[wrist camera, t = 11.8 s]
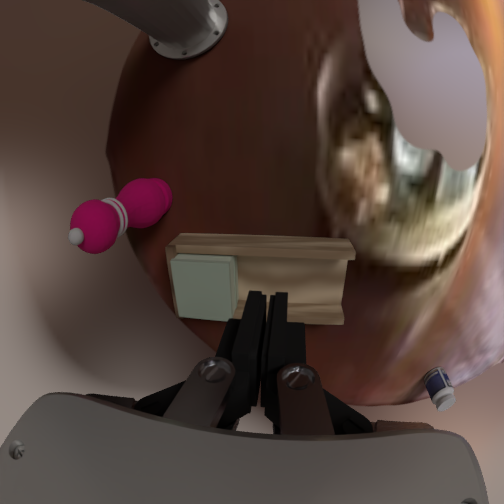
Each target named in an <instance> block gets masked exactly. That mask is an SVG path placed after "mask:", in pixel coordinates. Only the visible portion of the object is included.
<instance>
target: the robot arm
mask: <svg viewBox="0 0 504 504" xmlns="http://www.w3.org/2000/svg"><path fill="white" fill-rule="evenodd" d="M83 1H86V2H89V3H91V4H94V5H96V6H98V7H100V8H102V9H104V10H106V11H108V12H110V13H112V14H114V15H116V16H118V17H119V18H121V19H123V20H125V21H127V22H128V23H130V24H132V25H133V26H135V27H136V28H138V29H140V30H141V31H143V32H145V33H146V34H148V35H149V40H150V43H151V45H152V47H153V49H154V50H155V51H156V52H157V53H159V54H160V55H162V56H164V57H166V58H170V59H178V60H182V59H189V58H192V57H196V56H198V55H200V54H203V53H204V52H206V51H208V50H209V49H211V48H212V47H213V46H214V45H215V44H217V42H218V41H219V40H220V39H221V38H222V36H223V35H224V33H225V31H226V28H227V25H228V14H227V12H226V9H225V7H224V6H223V4H222V3H221V2H220V1H219V0H83ZM217 34H218V35H217ZM186 53H187V54H186ZM185 54H186V55H185ZM266 308H267V295H265V294H262V291H252V290H249V293H248V296H247V300H246V303H245V307H244V311H243V314H242V318H241V319H234V318H229V319H228V321H227V324H226V327H225V330H224V333H223V336H222V339H221V341H220V344H219V347H218V350H217V353H216V356H215V357H209V358H206V359H204V360H202V361H200V362H199V363H198V364H197V365H196V366H195V368H194V369H193V371H192V372H191V374H190V375H189V377H188V378H187V380H185V381H183V382H181V383H178V384H176V385H174V386H171V387H169V388H166V389H164V390H162V391H159V392H156V393H154V394H151V395H149V396H146V397H144V398H142V399H140V400H139V401H135V399H134V398H127V397H117V396H108V395H100V394H86V395H82V394H75V393H67V392H55V393H48V394H46V395H43V396H42V397H40V398H39V399H37V400H36V401H35V402H34V403H33V404H32V405H31V406H30V407H29V408H28V410H27V411H26V412H25V413H24V414H23V415H22V417H21V418H20V420H19V421H18V422H17V423H16V425H15V426H14V428H13V429H12V430H11V432H10V433H9V435H8V436H7V438H6V439H5V441H4V443H3V444H2V446H1V448H0V504H489V502H488V496H487V491H486V486H485V483H484V479H483V475H482V472H481V469H480V466H479V463H478V460H477V458H476V456H475V454H474V452H473V450H472V448H471V446H470V444H469V443H468V442H467V441H466V440H465V439H464V438H463V437H462V436H460V435H458V434H456V433H453V432H450V431H444V430H438V429H434V428H433V427H432V426H431V425H429V424H427V423H422V422H397V421H384V420H377V422H370V421H369V420H368V419H367V418H365V417H364V416H363V415H361V414H360V413H358V412H357V411H355V410H354V409H352V408H351V407H349V406H348V405H346V404H345V403H343V402H342V401H340V400H339V399H338V398H336V397H335V396H333V395H332V394H330V393H329V392H327V391H326V390H325V389H323V388H322V384H321V380H320V377H319V374H318V372H317V371H316V370H315V369H314V368H313V367H311V366H309V365H307V364H306V345H305V324H304V322H287V309H288V292H276V293H275V295H270V301H269V308H268V315H267V322H266ZM260 381H261V407H265V416H266V417H267V418H268V419H269V420H270V421H272V422H273V434H261V433H250V432H242V431H236V429H237V426H238V424H239V418H241V417H243V416H244V415H246V414H247V413H250V412H251V406H257V400H258V394H259V388H260Z"/></svg>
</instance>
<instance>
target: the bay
mask: <svg viewBox="0 0 504 504" xmlns="http://www.w3.org/2000/svg"><path fill="white" fill-rule="evenodd" d="M165 249H166V257H167V264H168V271H169V277H170V284H171V290H172V296H173V302H174V307H175V313H176V318H182V319H184V317H179V313H178V308H177V302H176V296H175V290H174V283H173V277H172V270H171V263H170V261H171V259H174V258H175V257H176V256H177V255H178V254H179V253H193V254H216V255H237V267H238V294H239V300H238V303H237V308H236V309H235V312H234V315H233V318H234V319H241V318H242V314H243V311H244V307H245V303H246V300H247V296H248V293H249V290H252V291H262V294H265V295H267V308H266V322H267V315H268V308H269V301H270V295H275V293H276V292H288V309H287V322H304V324H336V325H343V323H344V315H343V311H342V307H341V300H342V294H343V287H344V281H345V274H346V267H347V260H355V253H356V252H355V250H354V248H353V246H352V245H351V243H350V241H349V239H341V238H319V237H294V236H267V235H235V234H195V233H181V234H180V235H178V236H177V237H176V238H175V239H174V240H173V241H172V242H170V243H169V244H168V245H167V246H166V247H165Z"/></svg>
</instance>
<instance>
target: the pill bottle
mask: <svg viewBox="0 0 504 504" xmlns="http://www.w3.org/2000/svg"><path fill="white" fill-rule="evenodd" d="M424 383H425V385H426V388H427V390H428V393H429V395H430V398H431V400H432V402H433V404H435V405H436V408H437V410H438V411H444V410H446V409H448V408H450V407H451V406H452V405H453V404H454V403H455V400H456V399H455V396H454V395H453V392H454V389H453V387H452V384H451V382H450V380H449V378H448V376H447V374H446V372H445V370H444V369H443V368H442V367H437V368H434V369H432V370H431V371H430V372H428V373H427V375H426V376H425V378H424Z"/></svg>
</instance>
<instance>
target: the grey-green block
mask: <svg viewBox="0 0 504 504" xmlns="http://www.w3.org/2000/svg"><path fill="white" fill-rule="evenodd" d="M170 263H171V270H172V277H173V283H174V290H175V296H176V302H177V308H178V313H179V317H188V318H197V319H206V320H217V321H228V319H229V318H233V315H234V312H235V309H236V308H237V303H238V300H239V294H238V267H237V255H216V254H193V253H179V254H178V255H177V256H176V257H175V258H174V259H171V261H170Z"/></svg>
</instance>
